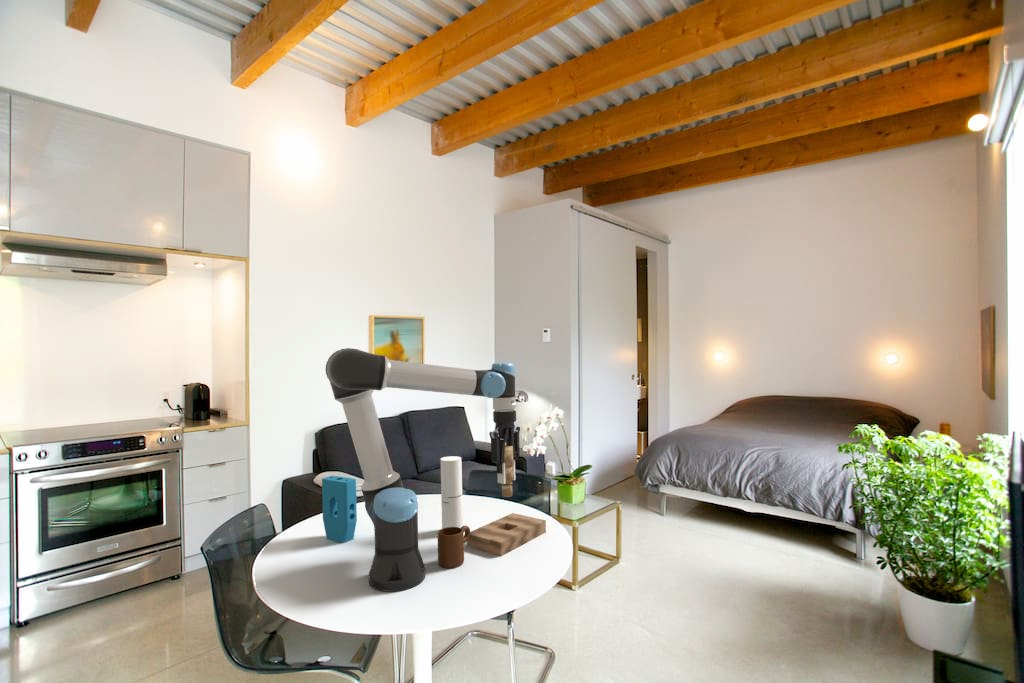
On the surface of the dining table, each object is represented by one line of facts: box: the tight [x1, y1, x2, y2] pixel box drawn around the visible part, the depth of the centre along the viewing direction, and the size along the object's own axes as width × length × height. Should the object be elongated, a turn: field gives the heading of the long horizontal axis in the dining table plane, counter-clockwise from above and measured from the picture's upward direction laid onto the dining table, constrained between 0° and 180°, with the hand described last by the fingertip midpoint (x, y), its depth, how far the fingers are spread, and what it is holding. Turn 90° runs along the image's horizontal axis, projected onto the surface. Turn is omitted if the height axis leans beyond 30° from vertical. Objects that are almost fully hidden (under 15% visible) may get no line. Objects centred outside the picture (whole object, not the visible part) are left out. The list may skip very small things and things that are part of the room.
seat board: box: [466, 512, 547, 557], centre depth 169 cm, size 24×14×4 cm, turn 142°
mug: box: [437, 525, 471, 569], centre depth 153 cm, size 12×8×9 cm, turn 143°
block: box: [321, 475, 358, 544], centre depth 173 cm, size 12×5×20 cm, turn 59°
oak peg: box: [500, 444, 514, 498], centre depth 169 cm, size 5×5×16 cm
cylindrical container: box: [440, 455, 464, 529], centre depth 177 cm, size 7×7×25 cm
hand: (506, 481), depth 169 cm, fingers closed on oak peg, 4 cm apart
